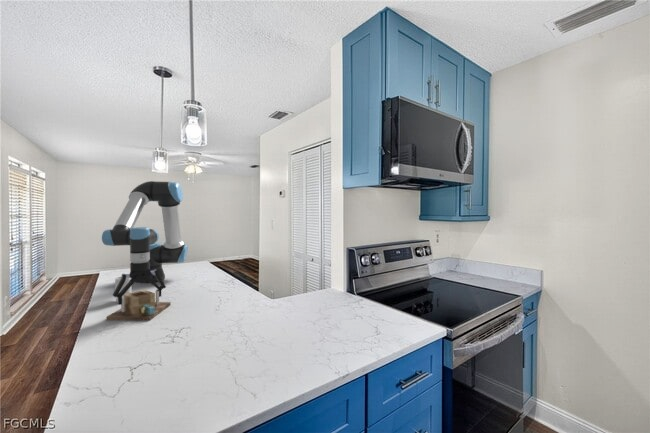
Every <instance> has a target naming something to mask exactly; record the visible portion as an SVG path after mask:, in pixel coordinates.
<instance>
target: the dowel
mask: <svg viewBox="0 0 650 433" xmlns="http://www.w3.org/2000/svg"><path fill="white" fill-rule="evenodd" d="M144 315H145V307H142V308H141V316H144Z"/></svg>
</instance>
